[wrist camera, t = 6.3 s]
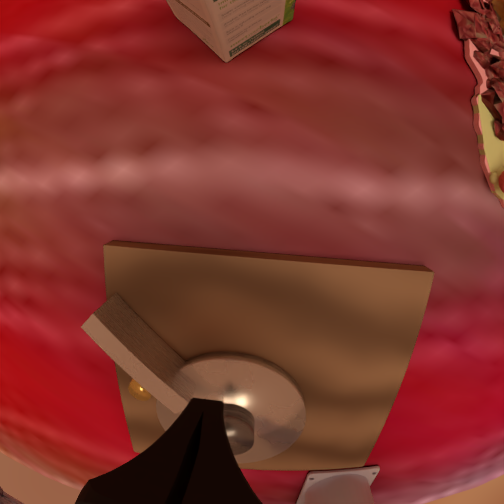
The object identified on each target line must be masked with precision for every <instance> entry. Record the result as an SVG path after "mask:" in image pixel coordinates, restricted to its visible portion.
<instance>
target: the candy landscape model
mask: <svg viewBox="0 0 504 504" xmlns="http://www.w3.org/2000/svg"><path fill="white" fill-rule="evenodd" d="M465 1H466V2H467V3H468V5H469V6H470V7H471V8H473V9H474V10H475V11H477V12H471V11H464V10H455V9H452V11H453V14H454V18H455V22H456V25H457V29H458V34H459V38H460V39H462V40H464V44H465V47H464V50H465V59H466V61H467V63H468V64H469V66H470V68H471V69H472V71H473V73H474V74H475V76H476V79H477V81H478V85H477V86H476V87H475V95H474V96H473V97H472V99H471V103H472V106H473V110H474V121H473V127H474V130H475V132H476V134H477V138H478V148H479V152H480V165H481V167H482V170H483V172H484V174H485V177H486V179H487V182H488V184H489V187H490V189H491V192H492V193H493V194H494V195H495V196H496V197H498V198H499V201H500V204H501V206H502V207H503V208H504V0H465Z"/></svg>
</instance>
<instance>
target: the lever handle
mask: <svg viewBox="0 0 504 504" xmlns="http://www.w3.org/2000/svg"><path fill="white" fill-rule="evenodd" d="M81 328H82V329H83V330H84V331H85V332H86V333H87V334H88V335H89V336H90V337H91V338H92V339H93V340H94V341H95V342H96V343H97V344H98V345H99V346H100V347H101V348H102V349H103V350H104V351H105V352H106V353H107V354H108V355H109V356H110V357H111V358H112V359H113V360H114V361H115V362H116V363H117V364H118V365H119V366H120V367H121V368H122V369H123V370H124V371H125V372H126V373H128V374H129V375H130V376H131V377H132V378H133V379H134V380H135V381H136V382H138V383H139V384H140V385H141V386H142V387H143V388H144V389H146V390H147V391H148V392H149V393H150V394H151V395H153V396H154V397H155V398H156V399H157V401H156V410H157V415H158V419H159V421H160V423H161V425H162V427H163V428H164V430H165V431H166V430H167V429H168V428H169V427H170V426H171V425H172V424H173V423H174V421H175V420H176V419H177V418H178V417H179V415H180V414H181V413H182V411H183V410H184V409H185V407H186V406H187V404H188V403H189V401H190V400H191V399H192V398H193V397H194V398H201V399H209V400H218V401H222V402H223V403H224V411H223V416H224V423H225V428H226V432H227V436H228V440H229V443H230V446H231V449H232V452H233V454H234V457H235V459H236V461H237V463H251V462H257V461H261V460H265V459H268V458H271V457H273V456H276V455H278V454H280V453H281V452H283V451H285V450H286V449H287V448H289V447H290V446H291V445H292V444H293V443H294V442H295V441H296V440H297V439H298V438H299V436H300V435H301V433H302V431H303V429H304V426H305V421H306V410H305V404H304V399H303V395H302V392H301V390H300V388H299V386H298V384H297V383H296V381H295V380H294V379H293V378H292V377H291V376H290V375H289V374H288V373H287V372H286V371H285V370H283V369H282V368H281V367H279V366H277V365H276V364H274V363H272V362H270V361H268V360H266V359H263V358H260V357H257V356H254V355H250V354H246V353H239V352H224V351H221V352H210V353H205V354H201V355H197V356H194V357H191V358H189V359H187V360H185V361H184V360H183V359H182V358H181V357H180V356H179V355H178V354H177V353H176V352H175V351H174V350H173V349H171V348H170V347H169V346H168V345H167V344H166V343H165V342H164V341H163V340H162V339H161V338H160V337H159V336H158V335H157V334H156V333H155V332H154V331H153V330H152V329H151V328H150V327H149V326H148V325H147V324H146V323H145V322H144V321H143V320H142V319H141V318H140V317H139V316H138V315H137V314H136V313H135V312H134V311H133V310H132V309H131V308H130V307H129V306H128V305H127V304H126V303H125V302H124V301H123V300H122V299H121V297H120V296H119V295H118V294H117V293H115V294H114V295H113V296H112V297H111V298H110V299H109V300H108V301H106V302H105V303H104V304H103V305H102V306H101V307H100V308H99V309H97V310H96V311H95V312H94V313H93V314H92V315H91V316H90V317H89V319H88V320H87V321H86V322H85V323H84V324H83V325H82V326H81Z"/></svg>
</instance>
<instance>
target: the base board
mask: <svg viewBox="0 0 504 504" xmlns="http://www.w3.org/2000/svg"><path fill="white" fill-rule="evenodd" d="M103 246H104V268H105V283H106V296H107V301H108V300H109V299H110V298H111V297H112V296H113V295H114V294H115V293H117V294H118V295H119V296H120V297H121V299H122V300H123V301H124V302H125V303H126V304H127V305H128V306H129V307H130V308H131V309H132V310H133V311H134V312H135V313H136V314H137V315H138V316H139V317H140V318H141V319H142V320H143V321H144V322H145V323H146V324H147V325H148V326H149V327H150V328H151V329H152V330H153V331H154V332H155V333H156V334H157V335H158V336H159V337H160V338H161V339H162V340H163V341H164V342H165V343H166V344H167V345H168V346H169V347H170V348H171V349H173V350H174V351H175V352H176V353H177V354H178V355H179V356H180V357H181V358H182V359H183V360H184V361H185V360H187V359H189V358H191V357H194V356H197V355H201V354H205V353H210V352H221V351H224V352H239V353H246V354H250V355H254V356H257V357H260V358H263V359H266V360H268V361H270V362H272V363H274V364H276V365H277V366H279V367H281V368H282V369H283V370H285V371H286V372H287V373H288V374H289V375H290V376H291V377H292V378H293V379H294V380H295V381H296V383H297V384H298V386H299V388H300V390H301V392H302V395H303V399H304V404H305V410H306V421H305V426H304V429H303V431H302V433H301V435H300V436H299V438H298V439H297V440H296V441H295V442H294V443H293V444H292V445H291V446H290V447H289V448H287V449H286V450H285V451H283V452H281V453H280V454H278V455H276V456H273V457H271V458H268V459H265V460H261V461H257V462H251V463H238V466H239V468H241V469H257V470H325V469H341V468H352V467H362V466H364V464H365V462H366V460H367V459H368V457H369V455H370V453H371V451H372V449H373V447H374V445H375V443H376V441H377V439H378V437H379V434H380V432H381V430H382V428H383V426H384V424H385V421H386V419H387V417H388V415H389V412H390V410H391V408H392V405H393V403H394V401H395V398H396V396H397V393H398V391H399V388H400V386H401V383H402V380H403V378H404V375H405V372H406V369H407V367H408V364H409V361H410V358H411V355H412V352H413V349H414V346H415V343H416V340H417V337H418V333H419V330H420V327H421V323H422V320H423V316H424V313H425V309H426V305H427V301H428V297H429V293H430V289H431V285H432V281H433V276H434V272H433V271H432V270H430V269H429V268H427V267H425V266H418V265H406V264H394V263H382V262H370V261H358V260H346V259H334V258H322V257H310V256H297V255H285V254H273V253H261V252H249V251H237V250H225V249H213V248H200V247H188V246H176V245H164V244H152V243H140V242H127V241H115V240H113V241H111V242H109V243H107V244H105V245H103ZM115 367H116V373H117V378H118V384H119V389H120V394H121V399H122V404H123V408H124V413H125V417H126V421H127V426H128V430H129V434H130V438H131V441H132V445H133V449H134V452H139V453H142V452H143V451H144V450H146V449H147V448H148V447H149V446H151V445H152V444H153V443H154V442H155V441H156V440H157V439H158V438H159V437H160V436H161V435H162V434H163V433H164V432H165V430H164V428H163V427H162V425H161V423H160V421H159V419H158V415H157V410H156V401H157V399H156V398H155V397H154V396H153V395H152V396H151V398H150V399H149V400H146V401H141V400H138V399H136V398H134V397H133V396H132V395H131V394H130V393H129V390H128V386H129V384H130V382H131V381H132V379H133V378H132V377H131V376H130V375H129V374H128V373H126V372H125V371H124V370H123V369H122V368H121V367H120V366H119V365H118V364H117V363H116V362H115Z"/></svg>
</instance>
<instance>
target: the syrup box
mask: <svg viewBox="0 0 504 504" xmlns="http://www.w3.org/2000/svg"><path fill="white" fill-rule="evenodd" d="M166 1H167V3H168V4H169V6H170V8H171V9H172V11H173V13H174V15H175V16H176V17H177V18H178V19H179V20H180V21H181V22H182V23H183V24H184V25H186V26H187V27H188V28H189V29H190V30H191V31H192V32H193V33H195V34H196V35H197V36H198V37H199V38H200V39H201V40H202V41H203V42H204V43H205V44H206V45H208V46H209V47H210V48H211V49H212V50H213V51H214V52H215V53H216V54H217V55H218V56H219V57H220V58H221V59H222V60H223V61H224V62H229V61H230V60H231V59H233V58H234V57H235V56H237V55H238V54H240V53H241V52H243V51H244V50H246V49H247V48H249V47H251V46H252V45H254V44H255V43H257V42H258V41H259V40H261V39H263V38H264V37H266V36H267V35H269V34H270V33H272V32H273V31H275V30H276V29H278V28H280V27H281V26H283V25H284V24H286V23H287V22H289V21H291V20H292V19H293V13H294V7H295V2H296V0H166Z"/></svg>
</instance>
